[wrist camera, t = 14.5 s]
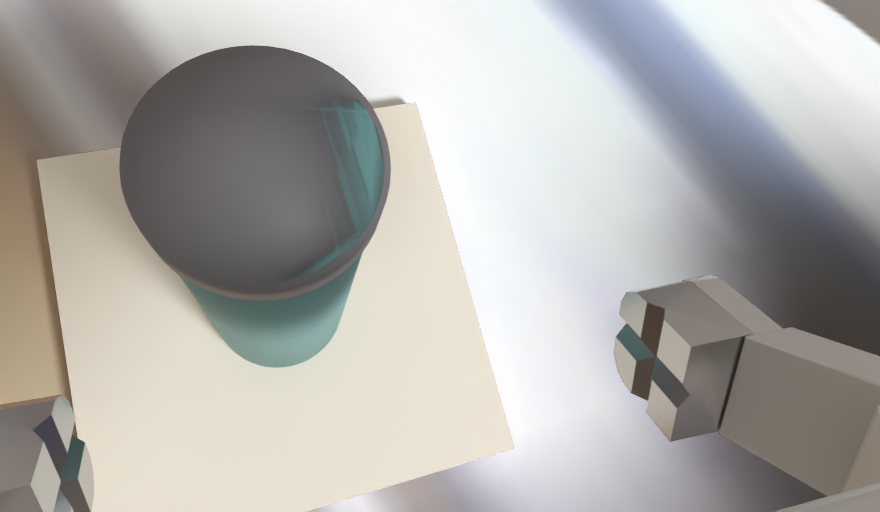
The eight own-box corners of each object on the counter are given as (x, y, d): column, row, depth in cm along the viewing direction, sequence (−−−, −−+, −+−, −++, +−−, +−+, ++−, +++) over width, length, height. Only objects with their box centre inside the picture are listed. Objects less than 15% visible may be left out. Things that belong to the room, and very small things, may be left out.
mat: (508, 448, 22) (514, 448, 21) (104, 570, 18) (98, 574, 18) (413, 110, 24) (416, 102, 24) (43, 167, 21) (36, 159, 20)
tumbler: (323, 386, 20) (350, 322, 10) (190, 349, 20) (74, 243, 9) (360, 263, 22) (418, 92, 11) (236, 226, 21) (177, 12, 11)
